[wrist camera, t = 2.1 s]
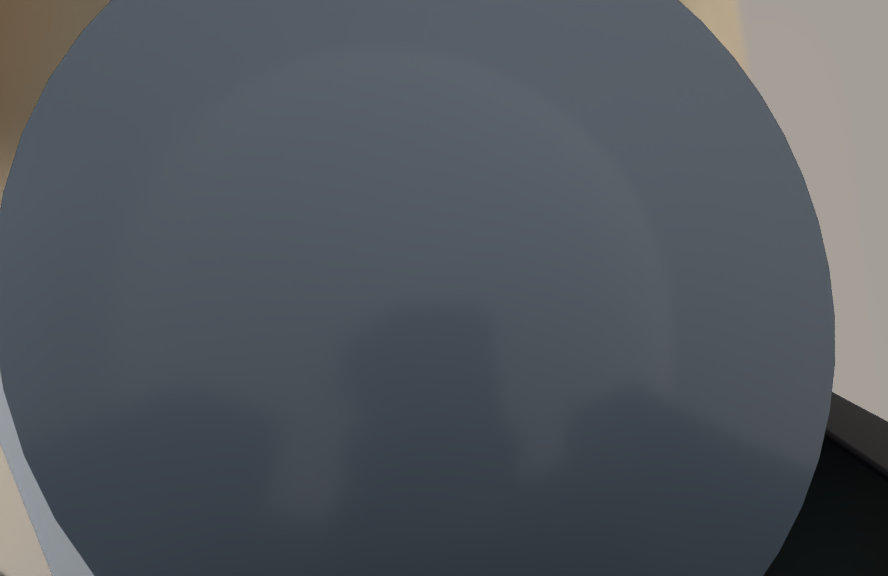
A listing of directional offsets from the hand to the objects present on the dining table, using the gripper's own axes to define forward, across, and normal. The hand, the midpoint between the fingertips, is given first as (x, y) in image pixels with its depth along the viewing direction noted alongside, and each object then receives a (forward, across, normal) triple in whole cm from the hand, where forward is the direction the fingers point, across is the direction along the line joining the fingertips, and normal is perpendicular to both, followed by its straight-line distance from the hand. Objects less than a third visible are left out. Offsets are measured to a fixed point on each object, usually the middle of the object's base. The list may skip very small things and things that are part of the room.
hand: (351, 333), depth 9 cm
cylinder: (+5, 0, +6) cm, 8 cm away
